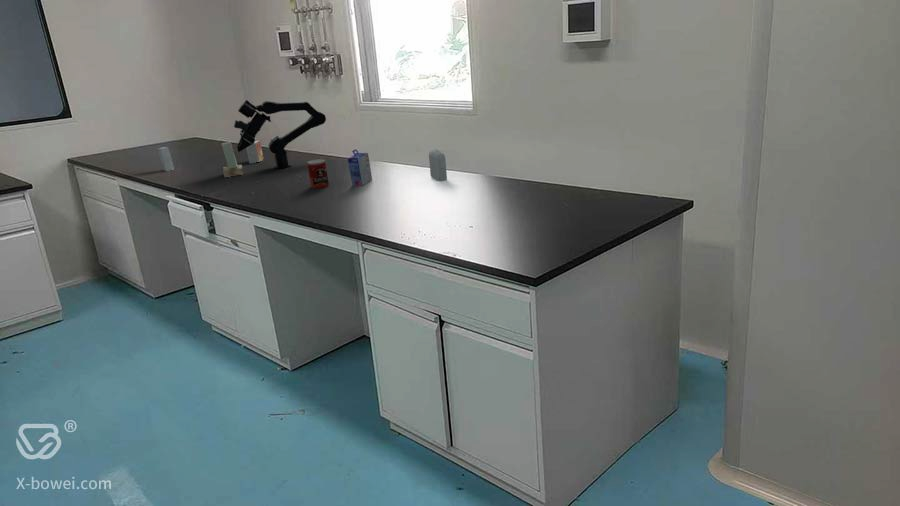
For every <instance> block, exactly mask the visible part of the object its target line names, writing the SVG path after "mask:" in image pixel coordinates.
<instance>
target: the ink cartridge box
mask: <svg viewBox="0 0 900 506" xmlns="http://www.w3.org/2000/svg"><path fill="white" fill-rule="evenodd" d="M351 151H352V153H353V155H352V156H350V157H347V161H348V162H347V163H348V168H349V169H348V170H349V173H350V179H351V186H355V187H356V186H357V187H358V186H359V187H362V186H364V185H366V184H367V183H369V182H371V181H373V177H372V170H371V169H372V168H371V163H370V157H369V153H368V152H359V150H358V149H353V150H351Z"/></svg>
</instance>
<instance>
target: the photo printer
mask: <svg viewBox="0 0 900 506" xmlns="http://www.w3.org/2000/svg"><path fill="white" fill-rule="evenodd" d="M428 161H429V170H430V177H431V178H433V179H434V180H437V181H440V182H445V181H446V180H447V179H448V175H447V162H446V155H445V154H444V153H443V152H442V151H441V150H439V149H431V150H430V151H429V152H428Z"/></svg>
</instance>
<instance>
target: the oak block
mask: <svg viewBox="0 0 900 506" xmlns="http://www.w3.org/2000/svg"><path fill="white" fill-rule="evenodd" d="M243 169H244V168H243V165H242V164H237V167H236V168H232V169H229V168H228V166H223V167H222V172H223V177H224V178H225V177H229V178H231V177H230V176H235V177H238V176H237V175H242V176H244V175H243V174H244V170H243Z"/></svg>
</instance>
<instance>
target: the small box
mask: <svg viewBox="0 0 900 506" xmlns="http://www.w3.org/2000/svg"><path fill="white" fill-rule="evenodd" d="M261 144H262V143H261V140H255V142H254V143H253V144H252V145H250V146H248V147H247V148H246V152H247V157H248V162H249V163H248V164H257V163H256V162H260V161H261V162H262V161H264V160H263V159H264V153H263V149H262V145H261ZM261 162H260V163H261Z"/></svg>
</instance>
